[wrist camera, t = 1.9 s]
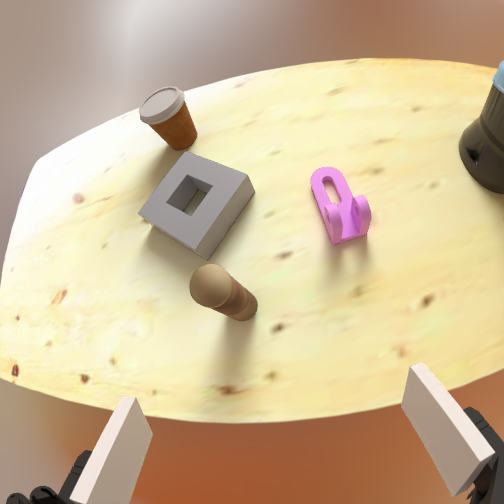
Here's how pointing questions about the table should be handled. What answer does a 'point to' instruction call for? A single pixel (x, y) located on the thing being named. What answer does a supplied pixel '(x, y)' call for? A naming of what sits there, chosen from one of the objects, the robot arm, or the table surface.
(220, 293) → the walnut pin
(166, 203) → the socket block
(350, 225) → the bracket
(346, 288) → the table surface
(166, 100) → the disposable coffee cup
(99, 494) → the robot arm
